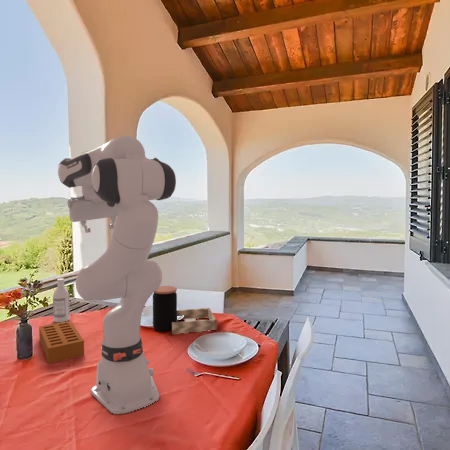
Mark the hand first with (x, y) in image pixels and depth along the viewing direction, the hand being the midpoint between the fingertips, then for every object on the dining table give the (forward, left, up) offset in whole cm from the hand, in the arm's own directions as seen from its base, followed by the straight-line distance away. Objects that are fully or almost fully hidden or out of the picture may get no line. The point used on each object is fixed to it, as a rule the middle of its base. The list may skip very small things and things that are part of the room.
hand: (100, 230), depth 133 cm
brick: (+7, +14, -46) cm, 49 cm away
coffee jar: (+4, -29, -46) cm, 54 cm away
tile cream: (+3, -41, -46) cm, 62 cm away
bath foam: (+39, +9, -46) cm, 61 cm away
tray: (0, -40, -46) cm, 61 cm away
